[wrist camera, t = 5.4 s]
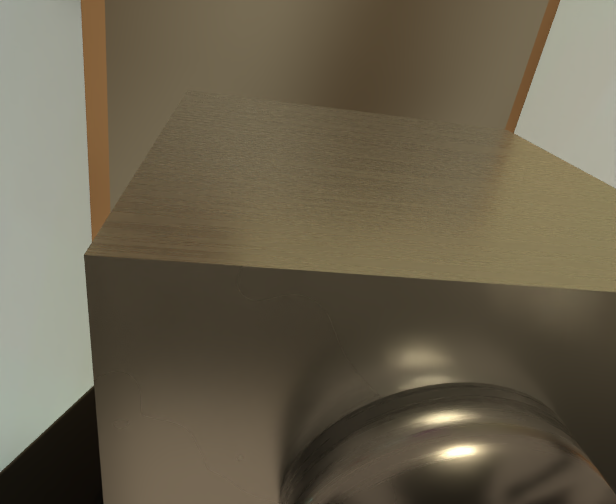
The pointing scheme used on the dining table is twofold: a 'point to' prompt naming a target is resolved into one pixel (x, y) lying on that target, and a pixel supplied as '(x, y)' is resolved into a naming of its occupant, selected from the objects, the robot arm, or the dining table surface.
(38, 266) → the dining table surface
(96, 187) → the stand
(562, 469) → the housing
